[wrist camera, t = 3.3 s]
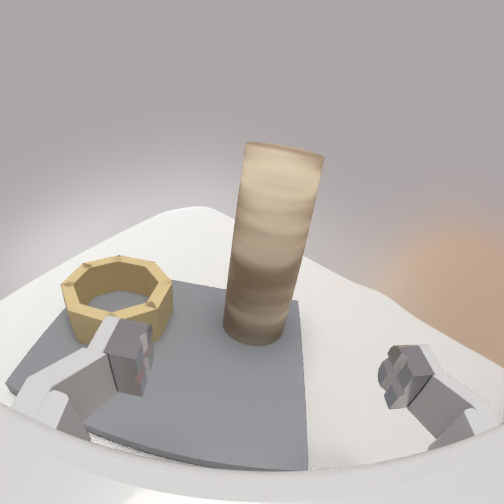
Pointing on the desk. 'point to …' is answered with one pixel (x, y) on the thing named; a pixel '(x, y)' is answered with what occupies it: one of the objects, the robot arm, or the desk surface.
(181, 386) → the socket board
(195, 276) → the desk surface
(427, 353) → the robot arm
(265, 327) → the ash peg
